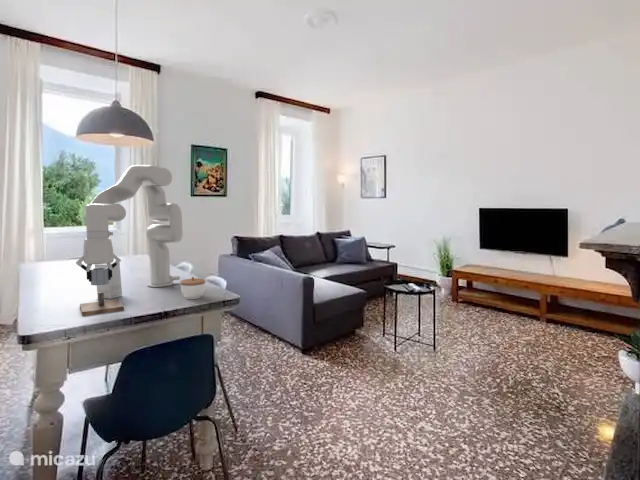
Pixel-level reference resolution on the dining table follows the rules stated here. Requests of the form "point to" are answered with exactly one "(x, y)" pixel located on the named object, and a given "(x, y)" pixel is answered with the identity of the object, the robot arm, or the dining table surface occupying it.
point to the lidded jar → (193, 287)
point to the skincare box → (111, 283)
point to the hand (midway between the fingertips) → (99, 279)
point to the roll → (99, 276)
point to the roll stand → (101, 306)
